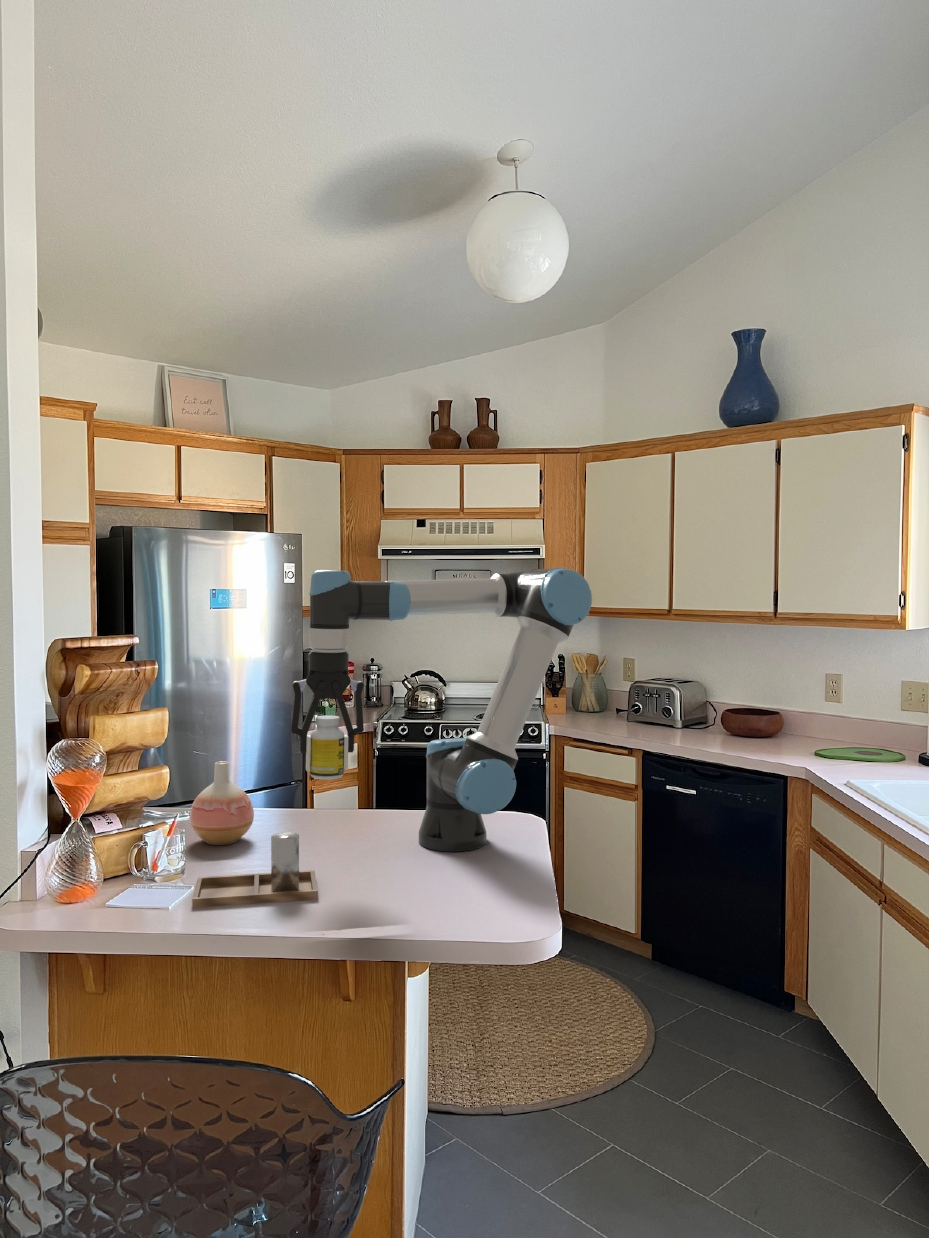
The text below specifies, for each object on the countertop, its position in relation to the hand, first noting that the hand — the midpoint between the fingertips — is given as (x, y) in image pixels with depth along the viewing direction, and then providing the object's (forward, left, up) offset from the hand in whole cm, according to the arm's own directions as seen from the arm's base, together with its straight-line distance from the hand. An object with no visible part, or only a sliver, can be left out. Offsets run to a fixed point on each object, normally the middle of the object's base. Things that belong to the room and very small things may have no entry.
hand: (326, 769), depth 171 cm
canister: (+8, +8, -20) cm, 23 cm away
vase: (+21, -29, -22) cm, 42 cm away
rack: (+13, +8, -21) cm, 27 cm away
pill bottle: (0, 0, -2) cm, 2 cm away
